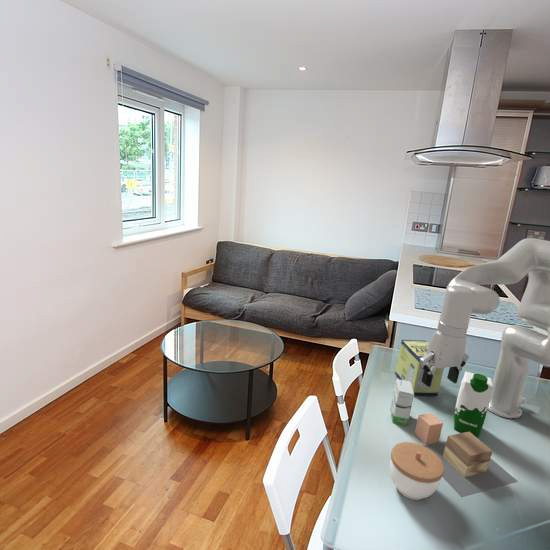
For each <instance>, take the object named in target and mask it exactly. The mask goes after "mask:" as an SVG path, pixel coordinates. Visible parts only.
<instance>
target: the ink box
mask: <svg viewBox="0 0 550 550" xmlns="http://www.w3.org/2000/svg"><path fill="white" fill-rule="evenodd" d="M414 397H415V396H414V392H413V388H412V385H411V382H409V381H405V380H400V379H398V378H397V379H396V381H395V384H394V390H393V394H392V399H391V403H390V408H389V409H390V416H391V422H392V424H397V425H402V426H408V424H409V420H410V417H411V416H410V415H411V412H412V411H411V410H412V405H413V401H414Z"/></svg>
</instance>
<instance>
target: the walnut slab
mask: <svg viewBox="0 0 550 550" xmlns="http://www.w3.org/2000/svg"><path fill="white" fill-rule="evenodd" d="M446 441H447V442H446V445H445V446H446V447H447V448H448V449H449V450H450V451H451V452H452V453H453V454H454V455H455V456H456V457H458V458H459V459H460V460H461V461H462V462H463V463H464V464H465V465H466V466H467V467H468V466H472V465H476V464H480V463H485V462H489V461H490V458H491V457H492V454H493V450H492V449H491V448H490V447H489V446H487V445H486V444H485V443H484V442H483V441H482V440H480V439H479V437H475V436H474V435H473V434H472V433H470V432H465V433H462V432H460V433H456V434H449V435H447V438H446ZM491 459H492V458H491Z"/></svg>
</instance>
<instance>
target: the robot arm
mask: <svg viewBox="0 0 550 550" xmlns="http://www.w3.org/2000/svg"><path fill="white" fill-rule="evenodd" d="M526 276H528V282H527V285H526V288H525V291H524V292H523V295H522V298H521V301H520V303H519V306H518V308H517V313H516V316H517V319H518V320H520V322H521V321H522V322H523V323H525V324H528V325H530V326H532V327H536V328H538V329H540V330H542V331H546V332H547V335H546V334H544V333H541V332H539V331H537V330H534V329H532V328H529V327H526V326H522V325H519V324H510V325H508V326H506V327H505V329H504V330H503V332H502V333H501V334H502V335H501V339H500V340H501V341H500V343H501V345H500V351H499V357H498V360H497V364H496V368H495V372H494V375H493V378H492V387H493V392H492V395H491V399H490V403H489V407H488V410H487V411H490V412H491V413H493V414H495V415H496V416H499V417H503V418H506V419H512V418H515V419H519V418H521V417H522V415H523V410H522V409H521V408H520V406H521V404H526V403H527V402H528V400H527V398H526V397H525V396H524V397H523V393H524V389H525V386H526V383H527V379H528V377H529V374H530V362H529V360H530V361H532V362H534V363H537V364H539V365H541V366H544V367H549V368H550V240H547V239H540V238H533V237H526V238H523V239H521V240H520V241H518V242H517V243H516V244H515V245H514V246H512V247H511V248H509V250H508V251H506V252H505V253H504V254H502V255H501V256H500V257H499V258H498V259H496V260H494V261H488V262H484V263H479V264H476V265H473V266H470V267H467V268H465V269H463V270H462V271H461V272H460V273H458V274H457V275H456V276H454V277H453V278H452V279H451V280H450V282H449V283H448V284H447V286H446V288H445V293H444V299H443V301H442V302H443V303H442V307H441V309H440V310H441V312H440V315H439V320H438V324H437V329H436V330H435V331H433V334H432V336H431V338H430V341H429V342H428V343H429V346H428V349H427V352H426V355H425V356H423V357H421V358H420V364H421V365H420V366H421V367H422V369H423V370H424V372H423V376H422V382H423V383H424V384H425V385H426V386H428V387H430V386H431V383H432V378H433V374H432V373H433V372H434V371H435V369H436V368H444V369H445V368H449V370H448V372H447V380H449V381H450V382H452V383H453V384H457V383H458V380H459V375H460V372H462V370H463V367H464V366H465V365H466V363H467V361H468V359H469V358H470V355H468V354H467V353H465V351H466V344H467V333H468V332H467V331H468V328H469V324H470V321H471V320H470V319H471V316H472V314H475V315H489V314H491V313H493V312H495V311H496V310H497V308H499V306H500V302H501V301H500V300H501V299H500V296H499V294H498V293H497V291H495V290H493V289H491V288H489V287H485V286H482V285H501V286H502V285H514V284H517V283H519V282H520V281H521V280H522V279H523V278H525V277H526ZM432 362H434V364H433V363H432ZM430 365H432V367H431V368H430V369H429V366H430ZM520 416H521V417H520Z"/></svg>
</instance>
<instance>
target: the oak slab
mask: <svg viewBox="0 0 550 550" xmlns="http://www.w3.org/2000/svg"><path fill="white" fill-rule="evenodd" d="M443 457H444V458H445V459H446V460H447V461H448V462H449V463H450V464H451V465H452V466H453V467H454V468H455V469H456V470H457V471H458V472H459V473H460V474H461V475H463V476H464V477H467V476H471V475H475V474H479V473H483V472H486V471H487V468H488V464H489V462H485V463H480V464H476V465H472V466H468V467H467V466H466V465H465V464H464V463H463V462H462V461H461V460H460V459H459V458H458V457H456V456H455V455H454V454H453V453H452V452H451V451H450V450H449V449H448V448H447V447H446V446H445V449H444V453H443Z"/></svg>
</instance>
